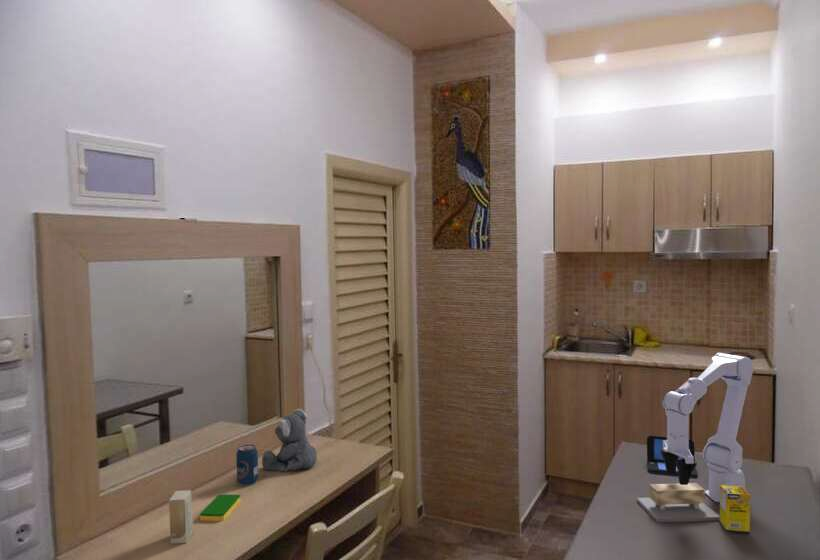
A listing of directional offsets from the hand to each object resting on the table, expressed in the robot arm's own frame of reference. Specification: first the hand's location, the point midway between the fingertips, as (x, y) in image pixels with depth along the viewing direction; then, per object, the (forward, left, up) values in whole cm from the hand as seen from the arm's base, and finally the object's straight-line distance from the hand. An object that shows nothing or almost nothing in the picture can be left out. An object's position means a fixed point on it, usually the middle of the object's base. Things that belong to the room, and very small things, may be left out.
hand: (677, 479), depth 173 cm
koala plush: (+119, -46, -10) cm, 128 cm away
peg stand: (0, 0, -9) cm, 9 cm away
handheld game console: (-14, -32, -10) cm, 36 cm away
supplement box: (-10, +12, -10) cm, 18 cm away
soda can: (+132, -31, -10) cm, 136 cm away
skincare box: (+141, +7, -10) cm, 141 cm away
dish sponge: (+135, -10, -10) cm, 136 cm away
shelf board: (0, 0, -6) cm, 6 cm away
